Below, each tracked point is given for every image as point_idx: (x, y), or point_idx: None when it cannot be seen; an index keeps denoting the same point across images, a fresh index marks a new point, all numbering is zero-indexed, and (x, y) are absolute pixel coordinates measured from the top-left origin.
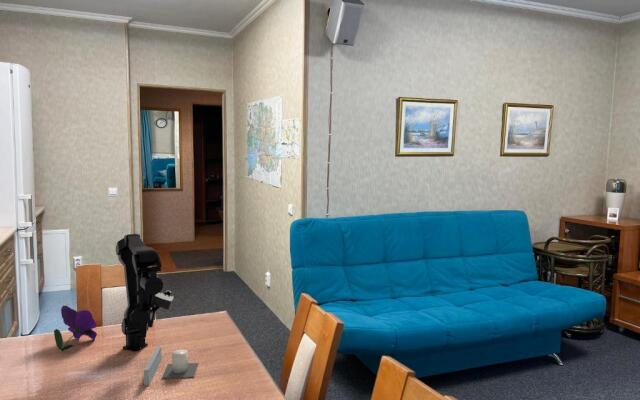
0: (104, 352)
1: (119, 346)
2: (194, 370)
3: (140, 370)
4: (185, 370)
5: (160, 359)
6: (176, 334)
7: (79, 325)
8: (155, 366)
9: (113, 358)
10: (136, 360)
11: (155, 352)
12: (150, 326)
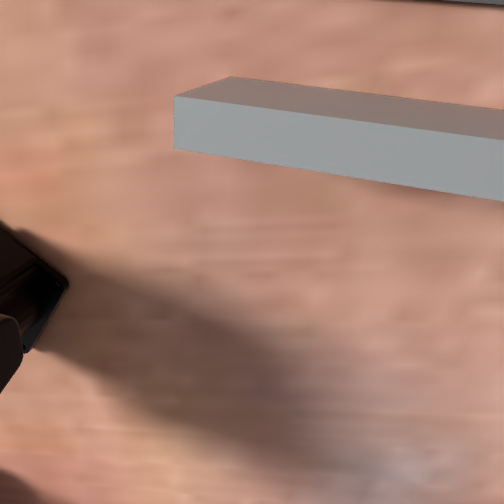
0: (84, 427)
1: None
2: None
3: (399, 240)
4: None
5: (261, 84)
6: None
7: None
8: (498, 119)
9: (163, 393)
10: (206, 271)
11: (345, 150)
12: (9, 350)
